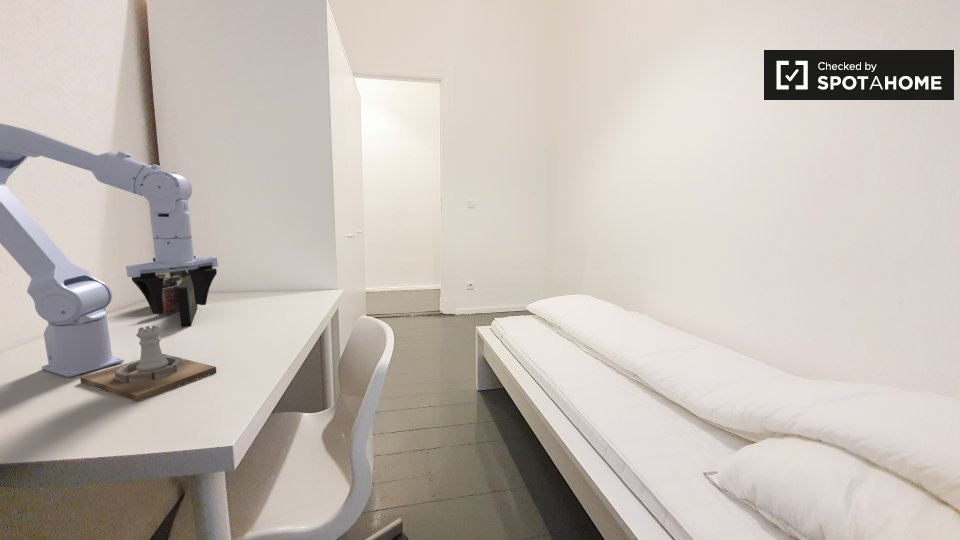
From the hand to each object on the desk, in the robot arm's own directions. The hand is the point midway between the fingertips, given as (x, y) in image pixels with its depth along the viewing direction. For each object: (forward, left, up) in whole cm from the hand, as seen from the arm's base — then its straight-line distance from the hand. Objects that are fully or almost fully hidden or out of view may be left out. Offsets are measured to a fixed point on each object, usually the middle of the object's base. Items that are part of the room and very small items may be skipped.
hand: (180, 308), depth 75 cm
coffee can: (-50, +28, -10) cm, 58 cm away
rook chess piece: (+5, -8, -9) cm, 13 cm away
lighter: (-39, +20, -10) cm, 45 cm away
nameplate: (-30, +19, -10) cm, 37 cm away
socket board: (+4, -8, -10) cm, 13 cm away
